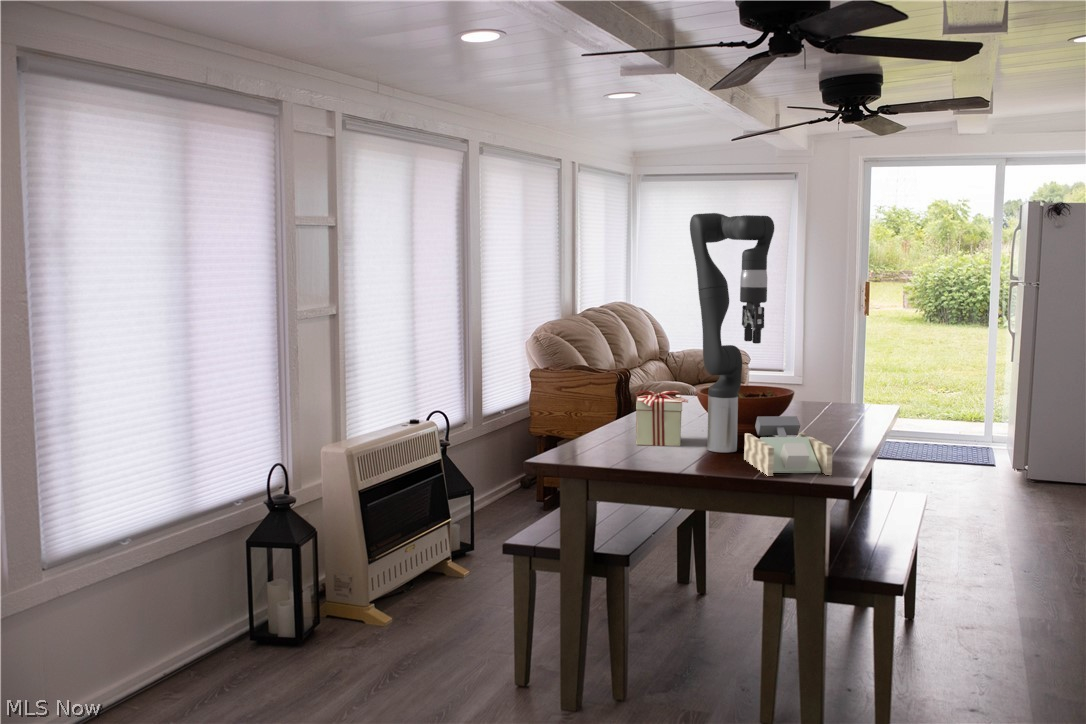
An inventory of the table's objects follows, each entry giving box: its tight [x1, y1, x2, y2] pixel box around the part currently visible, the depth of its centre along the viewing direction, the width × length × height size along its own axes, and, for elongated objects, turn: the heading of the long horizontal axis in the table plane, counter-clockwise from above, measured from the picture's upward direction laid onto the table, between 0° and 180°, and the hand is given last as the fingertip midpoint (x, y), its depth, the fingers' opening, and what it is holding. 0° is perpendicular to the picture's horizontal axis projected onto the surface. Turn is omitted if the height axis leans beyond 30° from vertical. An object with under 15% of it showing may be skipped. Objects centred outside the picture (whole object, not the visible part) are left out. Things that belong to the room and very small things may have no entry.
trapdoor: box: [754, 415, 822, 474], centre depth 274 cm, size 22×14×4 cm
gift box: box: [634, 390, 689, 447], centre depth 312 cm, size 17×18×17 cm
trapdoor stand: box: [743, 432, 834, 477], centre depth 273 cm, size 24×18×8 cm
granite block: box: [780, 443, 809, 469], centre depth 266 cm, size 5×6×5 cm
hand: (752, 342), depth 272 cm, fingers open, 8 cm apart
